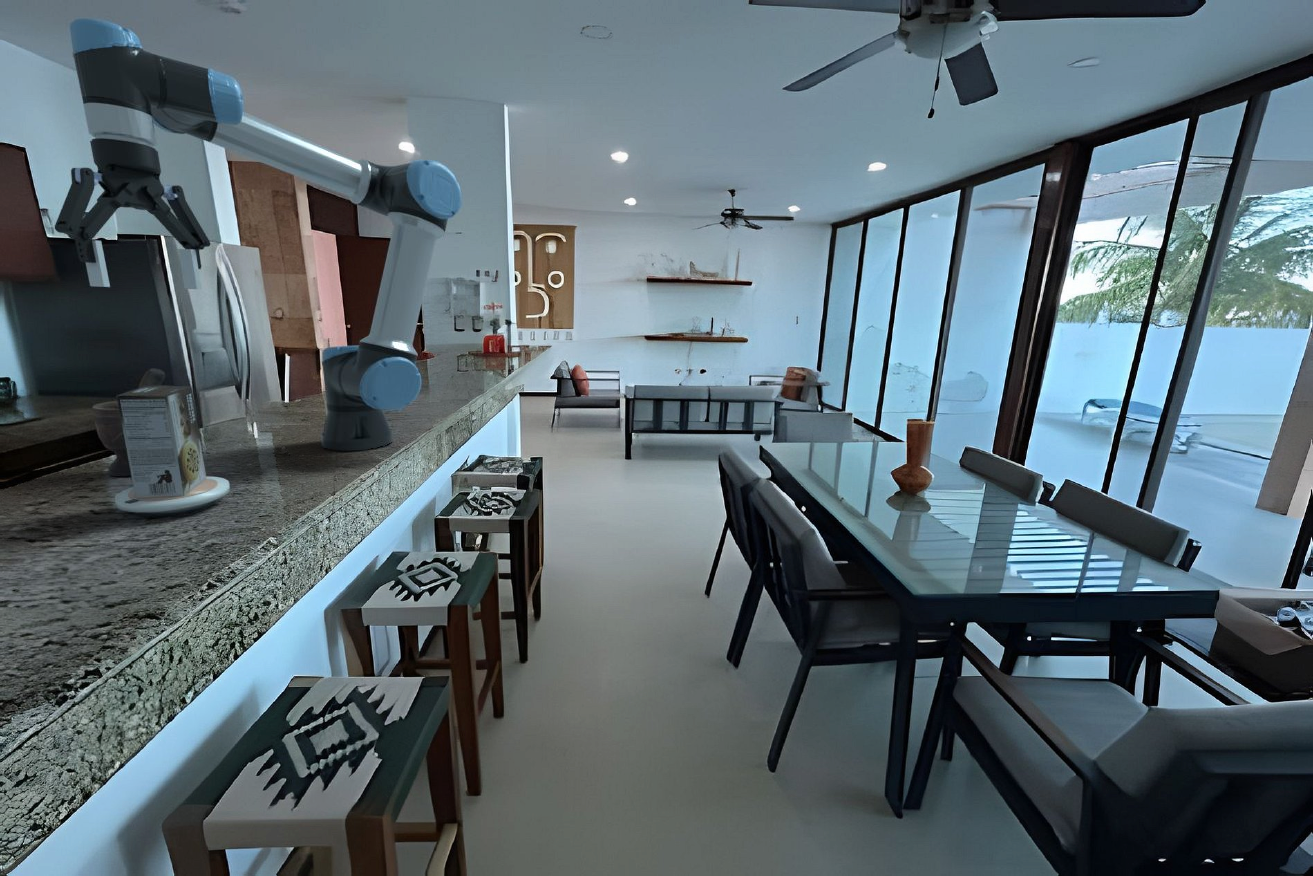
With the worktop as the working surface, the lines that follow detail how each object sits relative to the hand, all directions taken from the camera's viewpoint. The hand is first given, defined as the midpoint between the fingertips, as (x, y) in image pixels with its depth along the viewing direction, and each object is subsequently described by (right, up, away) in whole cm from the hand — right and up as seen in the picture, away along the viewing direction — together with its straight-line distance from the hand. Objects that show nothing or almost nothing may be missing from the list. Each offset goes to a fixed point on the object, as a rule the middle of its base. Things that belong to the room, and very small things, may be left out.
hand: (150, 288), depth 89 cm
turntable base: (+3, -35, +1) cm, 35 cm away
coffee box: (+3, -33, 0) cm, 33 cm away
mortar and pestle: (-16, -31, +17) cm, 39 cm away
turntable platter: (+4, -34, +1) cm, 34 cm away
